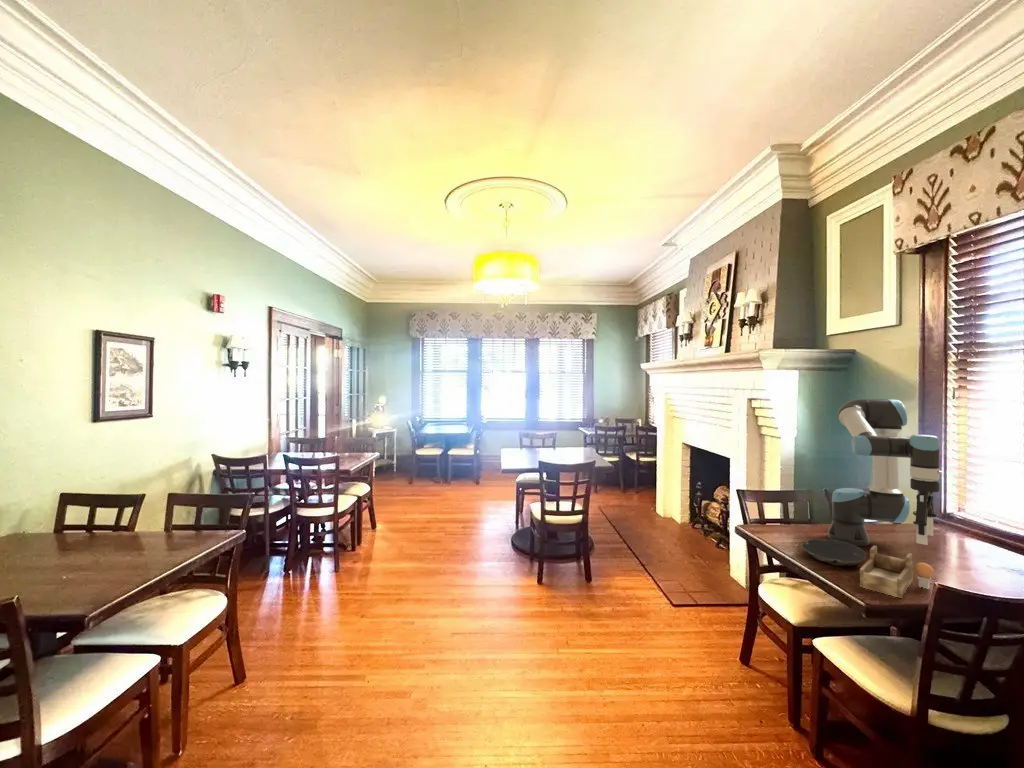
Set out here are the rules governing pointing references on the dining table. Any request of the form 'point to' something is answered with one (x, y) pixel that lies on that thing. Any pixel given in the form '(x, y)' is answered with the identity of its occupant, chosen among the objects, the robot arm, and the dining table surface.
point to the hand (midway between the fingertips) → (925, 539)
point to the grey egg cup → (924, 582)
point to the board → (834, 552)
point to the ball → (924, 570)
